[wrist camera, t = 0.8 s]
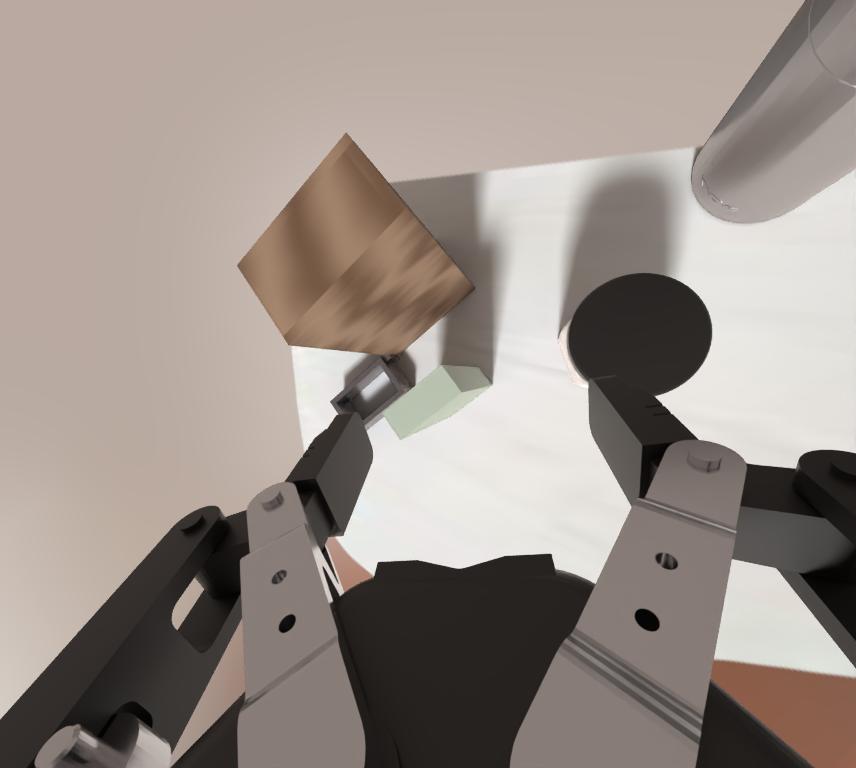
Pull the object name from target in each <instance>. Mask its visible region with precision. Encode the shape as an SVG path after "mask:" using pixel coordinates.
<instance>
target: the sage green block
mask: <svg viewBox="0 0 856 768" xmlns="http://www.w3.org/2000/svg"><path fill="white" fill-rule="evenodd" d="M491 386H492V384H491V383H490V381H489V380H488V379H487V377H486V376H485V375H484V373H483V372H482V371H481V369H480V368H479V367H468V366H453V365H440V366H439V367H438V368H437V369H435V370H434V371H433V372H432V373H430V374H429V375H428V376H427V377H426V378H424V379H423V380H422V381H421V382H419V383H418V384H417V385H416V386H415V387H413V388H411V389H409V390H408V391H407V392H406V393H404V395H403V396H402V397H401V398H400V399H399V400H397V401H396V402H395V403H394V404H393V405H391V406H390V407H389V408H388V409H387V410H385V411H384V412H383V413H382V414H383V415H384V417H385V418H386V420H387V421H388V423H389V424H390V426H391V427H392V429H393V430H394V432H395V433H396V434H397V436H398V437H399V439H400V440H402V439H404V438H406V437H408V436H410V435H412V434H415V433H417V432H419V431H421V430H423V429H425V428H427V427H429V426H432V425H434V424H436V423H438V422H440V421H442V420H444V419H447V418H449V417H451V416H452V415H454V414H455V413H456V412H457V411H459V410H460V409H461V408H463V407H464V406H465V405H467V404H468V403H469V402H471V401H472V400H473V399H475V398H476V397H477V396H479V395H480V394H481V393H483V392H484V391H485V390H487V389H488V388H489V387H491Z"/></svg>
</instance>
